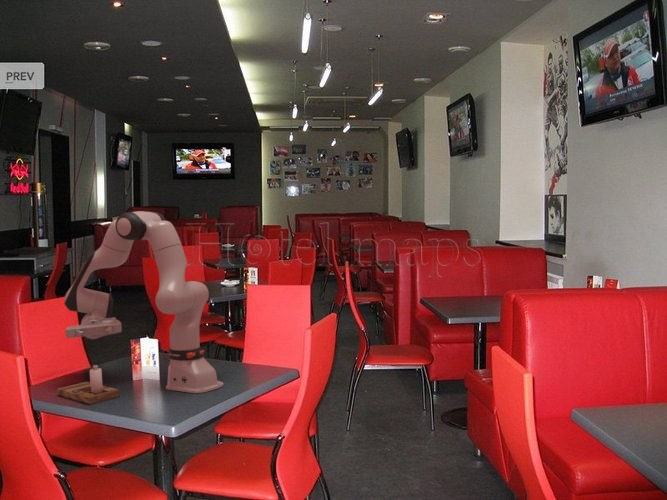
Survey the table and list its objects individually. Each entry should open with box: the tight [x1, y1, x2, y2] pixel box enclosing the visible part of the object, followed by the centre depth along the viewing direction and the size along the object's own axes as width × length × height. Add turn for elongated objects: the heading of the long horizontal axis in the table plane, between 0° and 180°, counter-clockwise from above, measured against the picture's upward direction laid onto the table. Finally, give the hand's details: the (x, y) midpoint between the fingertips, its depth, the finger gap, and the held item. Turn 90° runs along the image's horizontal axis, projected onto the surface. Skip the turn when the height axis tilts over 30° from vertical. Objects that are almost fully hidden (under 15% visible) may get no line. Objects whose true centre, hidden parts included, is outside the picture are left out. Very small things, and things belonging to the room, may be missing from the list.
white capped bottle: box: [89, 364, 104, 395], centre depth 237 cm, size 4×4×12 cm
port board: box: [56, 381, 121, 406], centre depth 242 cm, size 21×12×3 cm, turn 52°
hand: (94, 332), depth 249 cm, fingers open, 8 cm apart
